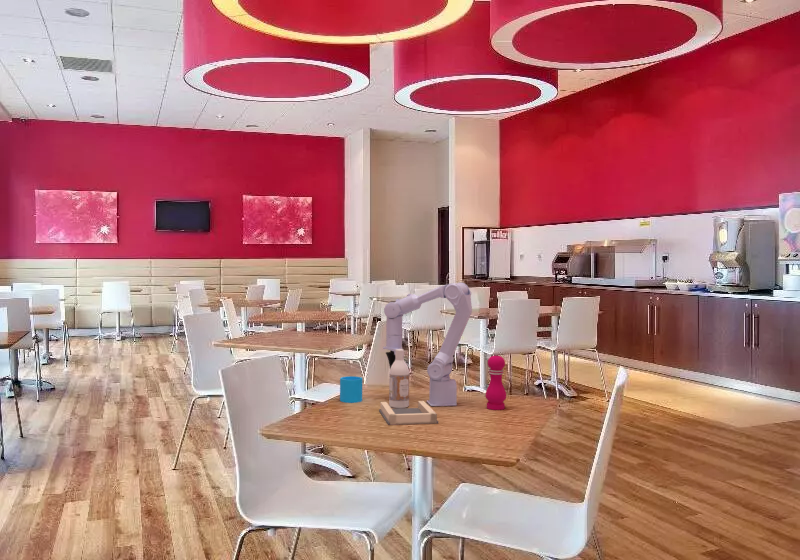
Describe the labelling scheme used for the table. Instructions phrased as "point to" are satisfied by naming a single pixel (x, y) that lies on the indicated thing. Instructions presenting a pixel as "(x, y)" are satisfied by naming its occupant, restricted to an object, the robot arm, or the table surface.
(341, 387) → the mug
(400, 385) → the bath foam
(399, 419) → the cradle
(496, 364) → the pepper mill
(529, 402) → the table surface
